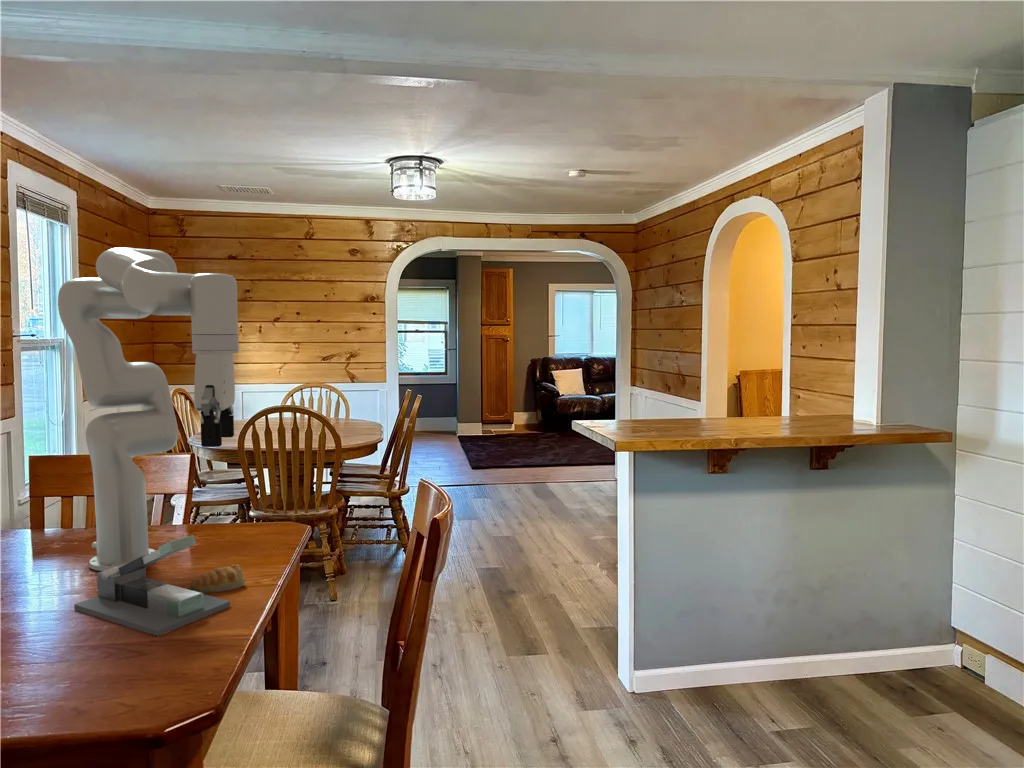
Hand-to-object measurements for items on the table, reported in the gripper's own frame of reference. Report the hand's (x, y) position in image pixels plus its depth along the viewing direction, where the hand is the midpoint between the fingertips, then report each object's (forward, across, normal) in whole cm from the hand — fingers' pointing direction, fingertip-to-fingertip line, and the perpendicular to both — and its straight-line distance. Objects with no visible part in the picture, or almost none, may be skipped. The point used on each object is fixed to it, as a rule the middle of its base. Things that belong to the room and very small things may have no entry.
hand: (218, 441), depth 128 cm
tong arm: (+20, +3, -10) cm, 23 cm away
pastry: (+30, -8, -2) cm, 31 cm away
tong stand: (+28, +1, -12) cm, 31 cm away
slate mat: (+29, +1, -12) cm, 31 cm away
